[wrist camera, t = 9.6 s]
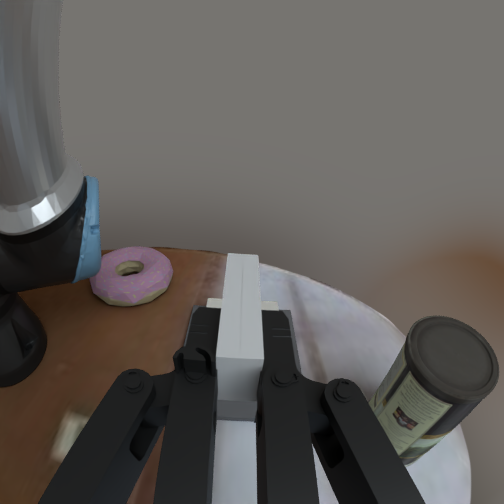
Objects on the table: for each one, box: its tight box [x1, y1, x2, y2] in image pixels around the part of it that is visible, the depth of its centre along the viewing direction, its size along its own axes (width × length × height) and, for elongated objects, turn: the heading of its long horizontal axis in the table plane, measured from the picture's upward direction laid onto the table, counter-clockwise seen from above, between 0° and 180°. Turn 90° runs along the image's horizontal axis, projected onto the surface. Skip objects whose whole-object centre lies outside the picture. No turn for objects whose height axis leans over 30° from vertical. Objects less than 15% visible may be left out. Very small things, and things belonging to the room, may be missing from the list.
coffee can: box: [369, 316, 499, 467], centre depth 20 cm, size 10×10×14 cm
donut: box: [90, 246, 173, 306], centre depth 46 cm, size 16×15×5 cm
